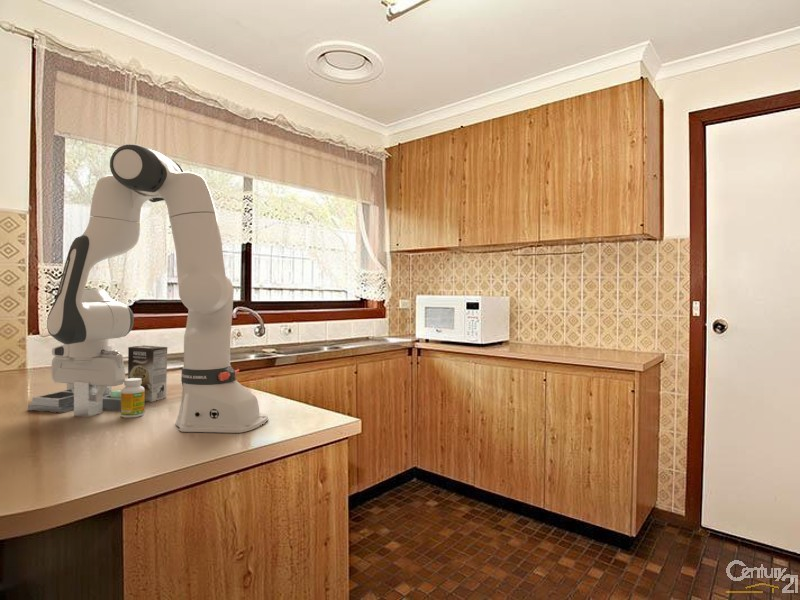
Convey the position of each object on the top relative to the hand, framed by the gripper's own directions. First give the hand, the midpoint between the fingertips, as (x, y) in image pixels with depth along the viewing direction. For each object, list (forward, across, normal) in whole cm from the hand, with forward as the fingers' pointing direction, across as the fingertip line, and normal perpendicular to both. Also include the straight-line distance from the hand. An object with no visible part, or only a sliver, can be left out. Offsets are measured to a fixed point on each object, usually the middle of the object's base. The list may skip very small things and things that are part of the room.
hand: (88, 400), depth 122 cm
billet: (+4, 0, 0) cm, 4 cm away
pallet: (+4, +13, -8) cm, 15 cm away
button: (+2, -1, -9) cm, 9 cm away
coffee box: (+4, -2, -19) cm, 19 cm away
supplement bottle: (+4, -12, -2) cm, 13 cm away
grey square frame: (+4, -1, -9) cm, 10 cm away
